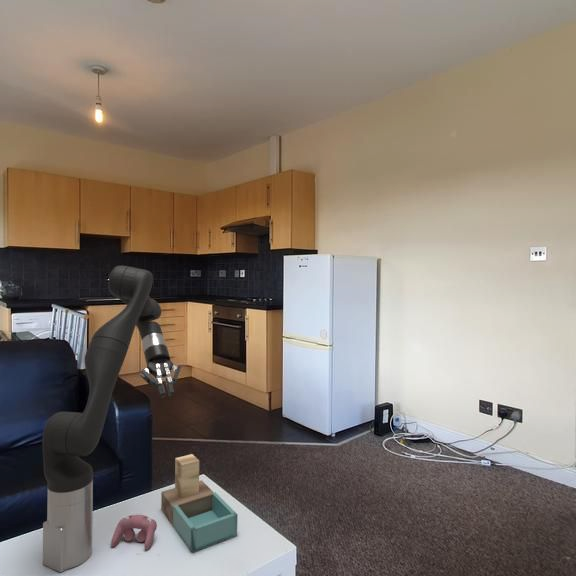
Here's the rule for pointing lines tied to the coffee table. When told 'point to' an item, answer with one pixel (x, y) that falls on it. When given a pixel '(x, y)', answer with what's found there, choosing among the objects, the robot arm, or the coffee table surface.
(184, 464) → the maple block
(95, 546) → the coffee table surface
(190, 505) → the brown wooden block
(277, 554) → the coffee table surface
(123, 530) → the pink arched piece
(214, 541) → the bin
